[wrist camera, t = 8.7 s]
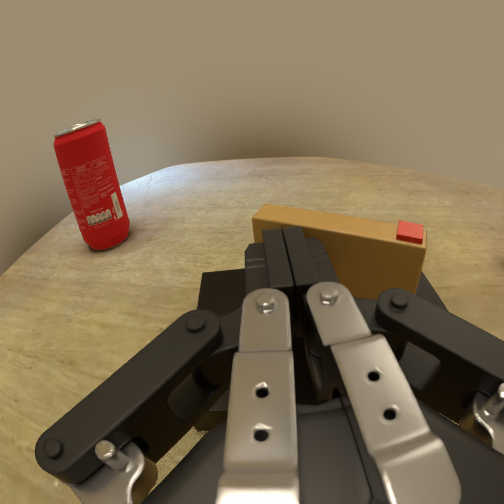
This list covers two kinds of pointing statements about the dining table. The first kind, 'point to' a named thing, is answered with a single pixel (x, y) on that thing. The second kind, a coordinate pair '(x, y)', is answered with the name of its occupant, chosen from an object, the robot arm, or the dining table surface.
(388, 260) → the tan slab
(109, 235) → the beverage can
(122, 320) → the dining table surface
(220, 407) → the black slotted base
